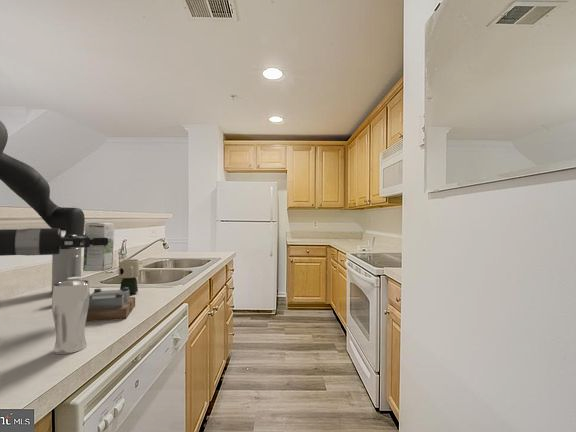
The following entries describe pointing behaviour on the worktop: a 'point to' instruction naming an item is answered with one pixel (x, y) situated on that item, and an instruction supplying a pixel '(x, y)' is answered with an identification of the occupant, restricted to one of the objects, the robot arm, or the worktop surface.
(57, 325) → the beer glass
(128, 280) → the character mug
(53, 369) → the worktop surface
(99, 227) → the syrup box
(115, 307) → the tower base
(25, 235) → the robot arm
